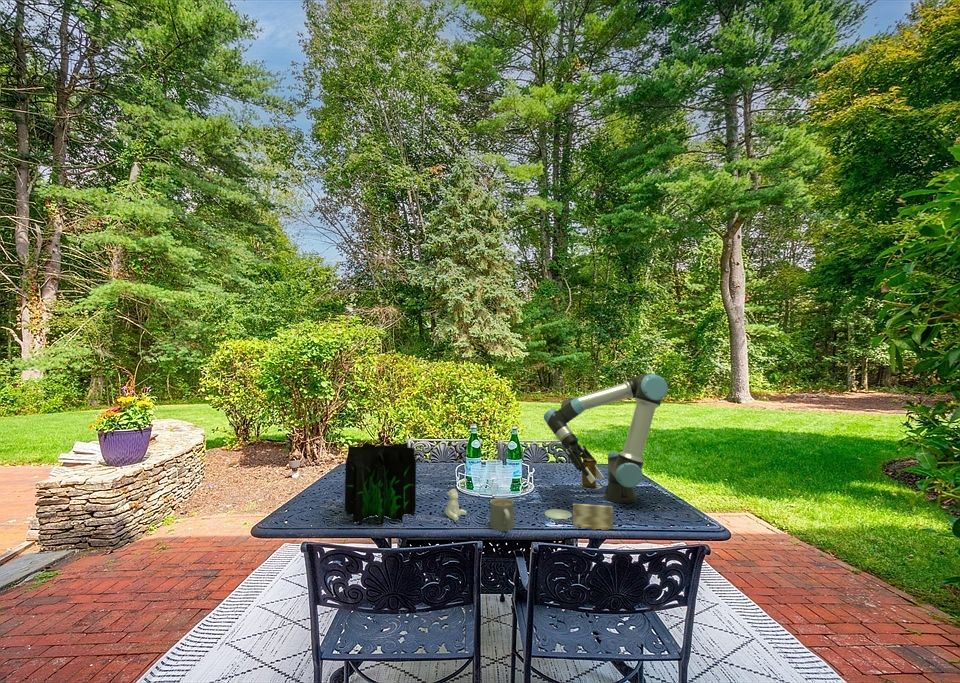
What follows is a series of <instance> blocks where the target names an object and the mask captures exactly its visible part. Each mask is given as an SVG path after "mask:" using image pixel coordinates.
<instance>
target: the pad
mask: <svg viewBox="0 0 960 683" xmlns="http://www.w3.org/2000/svg"><path fill="white" fill-rule="evenodd" d="M544 516H545V517H547V518H549V519H552V520H557V519H564V520H568V518H569V519H571V518H573V513H572V512H571V511H568V510H566V509H565V510H564V509H558V508H554V509H553V508H552V509H547V510H545V511H544ZM570 517H571V518H570Z"/></svg>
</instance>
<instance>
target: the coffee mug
mask: <svg viewBox="0 0 960 683" xmlns="http://www.w3.org/2000/svg"><path fill="white" fill-rule="evenodd" d="M514 502H515V501H514V500H513V499H510V498H504V497H503V498H502V497H498V498H497V497H496V498H493V499H491V500H490V501H489V508H490V509H489V526H490V528H491V529H493V530H495V531H502V532H503V531H505V532H506V531H509V530H512V529H514V527H515V523H514V522H515V507H514V506H515V503H514Z"/></svg>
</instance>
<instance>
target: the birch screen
mask: <svg viewBox="0 0 960 683" xmlns="http://www.w3.org/2000/svg"><path fill="white" fill-rule="evenodd" d="M613 511H614V508H613V506H612V505H599V504H587V503H584V504H583V503H572V527H573V526H578V527H581V528H580V529H584V528H592V529H591V530H596V529H601V530H600V531H609V529H613V530H614V519H613V518H614V512H613ZM578 527H577V528H578Z"/></svg>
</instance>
